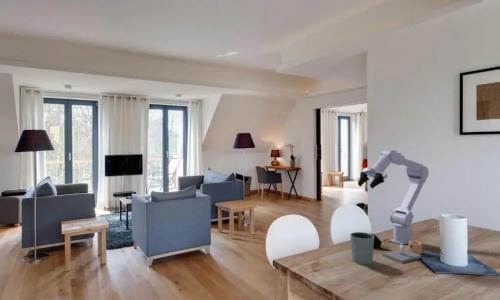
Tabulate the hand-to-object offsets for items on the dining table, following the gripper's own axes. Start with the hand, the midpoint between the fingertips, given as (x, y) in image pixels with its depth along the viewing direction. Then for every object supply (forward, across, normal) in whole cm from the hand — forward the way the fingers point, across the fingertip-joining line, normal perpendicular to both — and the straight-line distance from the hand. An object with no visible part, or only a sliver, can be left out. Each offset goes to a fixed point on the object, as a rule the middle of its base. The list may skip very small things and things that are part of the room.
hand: (364, 186), depth 158 cm
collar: (+6, +14, +37) cm, 40 cm away
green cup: (+31, +10, +16) cm, 36 cm away
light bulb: (+15, 0, +30) cm, 34 cm away
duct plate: (+15, +15, +30) cm, 37 cm away
